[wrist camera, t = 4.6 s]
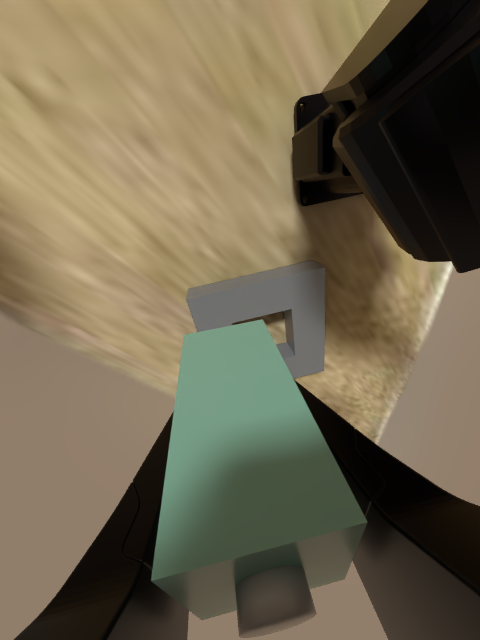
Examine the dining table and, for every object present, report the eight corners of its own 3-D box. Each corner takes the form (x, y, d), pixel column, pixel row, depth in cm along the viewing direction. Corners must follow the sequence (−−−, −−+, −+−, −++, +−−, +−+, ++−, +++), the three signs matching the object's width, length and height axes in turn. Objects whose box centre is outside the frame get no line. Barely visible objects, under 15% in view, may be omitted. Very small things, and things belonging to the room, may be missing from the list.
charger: (262, 319, 11) (391, 570, 3) (267, 376, 13) (357, 615, 5) (184, 334, 11) (142, 642, 3) (202, 390, 13) (202, 662, 5)
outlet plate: (312, 260, 20) (325, 266, 18) (314, 356, 26) (324, 370, 24) (188, 288, 20) (186, 299, 18) (218, 381, 26) (219, 397, 24)
